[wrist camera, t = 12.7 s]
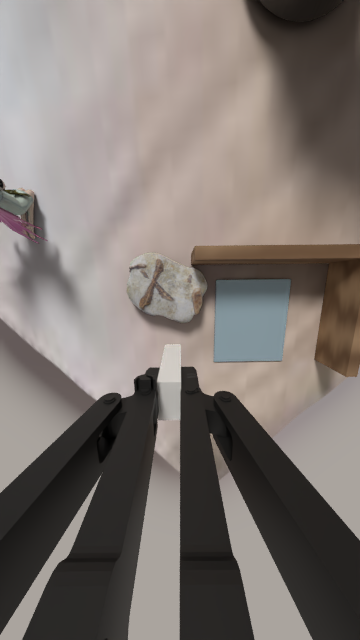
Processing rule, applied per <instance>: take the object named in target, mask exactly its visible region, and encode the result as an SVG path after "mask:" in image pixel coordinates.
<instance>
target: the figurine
mask: <svg viewBox="0 0 360 640" xmlns="http://www.w3.org/2000/svg"><path fill="white" fill-rule="evenodd" d="M5 187H6V186H5V184H4V182H3V181H2V180H1V179H0V222H1V221H2V222H3V223H4V224H5V225H6V226H8V227H9V228H10V229H12V230H13V231H15V232H17V233H19V234H21V235H23V236H25V237H27V238H29V236H28V233H27V232H29V235H30V237H31V238H33V239H35V236H37V237H39V236H38V235H36V234H34V227H36V228H38V229H41V230H42V228H40V227H37V226H34V225H33V209H34V192H33V191H32V190H27V191H25V190H24V189H23V188H19V189H13V190H5ZM26 211H27V213H28V219H29V222H26ZM16 215H21V219H20V217H19V218H18V216H16ZM20 221H21V222H22V223H21V222H20ZM26 224H28V226H27V225H26ZM26 226H27V227H26ZM31 238H29V239H30V240H32V241H34V240H33V239H31ZM39 238H41V237H39ZM42 239H43V238H42ZM44 240H45V239H44ZM46 241H47V240H46ZM34 242H36V241H34ZM36 243H38V242H36Z"/></svg>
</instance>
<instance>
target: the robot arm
mask: <svg viewBox="0 0 360 640" xmlns="http://www.w3.org/2000/svg"><path fill="white" fill-rule="evenodd" d="M259 1H260V2H261V3H262V4H263V5H264V6H265V7H266V8H267V9H268V10H269V11H270V12H272V13H273V14H275V15H276V16H278V17H280V18H283V19H286V20H289V21H297V22H301V21H309V20H313V19H316V18H319V17H321V16H323V15H325V14H327V13H328V12H330V11H331V10H333V9H334V8H335V7H337V6H338V5H339V4H340V3H341V2H342V1H343V0H259ZM134 386H135V393H134V395H132V396H130V397H126V398H121V395H120V394H118V393H109V394H106V395H104V396H102V397H101V398H100V399H99V400H97V401H96V402H95V403H94V404H93V405H92V406H91V407H90V408H89V409H88V410H87V411H86V412H85V413H84V414H83V415H82V416H81V417H80V418H79V419H78V420H77V421H76V422H74V423H73V424H72V425H71V426H70V427H69V428H68V429H67V430H66V431H65V432H64V433H63V434H62V435H61V436H60V437H59V438H58V439H57V440H56V441H55V442H54V443H52V444H51V445H50V446H49V447H48V448H47V449H46V450H45V451H44V452H43V453H42V454H41V455H40V456H39V457H38V458H37V459H36V460H35V461H34V462H33V463H31V465H29V466H28V467H27V468H26V469H25V470H24V471H23V472H22V473H21V474H20V475H19V476H18V477H17V478H16V479H15V480H14V481H13V482H12V483H11V484H9V486H7V487H6V488H5V489H4V490H3V491H2V492H1V493H0V634H1V633H2V631H3V629H4V628H5V626H6V625H7V623H8V621H9V620H10V618H11V617H12V615H13V614H14V612H15V610H16V609H17V607H18V606H19V604H20V602H21V601H22V599H23V598H24V596H25V595H26V593H27V591H28V590H29V588H30V587H31V585H32V583H33V582H34V580H35V578H36V577H37V575H38V574H39V572H40V571H41V569H42V567H43V566H44V564H45V563H46V561H47V560H48V558H49V556H50V555H51V553H52V552H53V550H54V548H55V547H56V545H57V544H58V542H59V541H60V539H61V537H62V536H63V534H64V533H65V531H66V529H67V528H68V526H69V525H70V523H71V521H72V520H73V518H74V517H75V515H76V514H77V512H78V510H79V509H80V507H81V506H82V504H83V502H84V501H85V499H86V497H87V496H88V494H89V493H90V491H91V490H92V488H93V487H94V485H95V483H96V482H97V480H98V478H99V477H100V475H101V474H102V475H101V478H100V480H99V482H98V485H97V487H96V490H95V492H94V495H93V497H92V500H91V503H90V505H89V507H88V510H87V512H86V515H85V517H84V520H83V522H82V525H81V527H80V530H79V533H78V535H77V537H76V540H75V542H74V545H73V547H72V549H71V552H70V554H69V555H68V557H67V558H66V559H64V560H63V561H61V562H60V563H59V564H58V565H57V567H56V568H55V570H54V571H53V573H52V575H51V577H50V579H49V581H48V583H47V585H46V587H45V589H44V591H43V594H42V596H41V598H40V601H39V603H38V605H37V607H36V610H35V612H34V614H33V617H32V619H31V621H30V623H29V626H28V628H27V630H26V633H25V635H24V637H23V640H128V624H129V615H130V608H131V601H132V595H133V588H134V581H135V575H136V568H137V561H138V555H139V548H140V541H141V535H142V527H143V521H144V515H145V507H146V501H147V495H148V488H149V480H150V474H151V468H152V461H153V454H154V448H155V441H156V434H157V428H158V424H157V419H158V420H180V640H254V635H253V630H252V626H251V621H250V616H249V611H248V607H247V602H246V597H245V592H244V587H243V582H242V578H241V573H240V569H239V566H238V563H237V561H236V559H235V558H234V556H233V553H232V549H231V544H230V539H229V534H228V528H227V523H226V518H225V513H224V507H223V502H222V497H221V491H220V486H219V481H218V475H217V470H216V465H215V460H214V454H213V449H212V444H211V439H210V433H211V434H213V438H214V440H215V442H216V444H217V446H218V448H219V450H220V452H221V454H222V456H223V458H224V460H225V462H226V464H227V466H228V468H229V470H230V472H231V474H232V476H233V478H234V480H235V482H236V484H237V486H238V488H239V491H240V492H241V494H242V496H243V499H244V501H245V503H246V505H247V507H248V509H249V511H250V513H251V515H252V517H253V519H254V521H255V523H256V525H257V527H258V529H259V531H260V533H261V535H262V537H263V539H264V541H265V543H266V545H267V547H268V549H269V552H270V553H271V556H272V558H273V560H274V562H275V564H276V566H277V568H278V570H279V572H280V574H281V576H282V578H283V580H284V582H285V584H286V586H287V588H288V590H289V592H290V594H291V596H292V598H293V600H294V602H295V604H296V606H297V608H298V610H299V612H300V615H301V617H302V619H303V621H304V623H305V625H306V627H307V629H308V631H309V633H310V635H311V637H312V639H313V640H360V540H359V539H358V538H357V537H356V536H355V535H354V533H353V532H352V531H351V530H350V529H349V528H348V526H347V525H346V524H345V523H344V522H343V521H342V519H340V517H339V516H338V515H337V514H336V513H335V511H334V510H333V509H332V508H331V507H330V505H329V504H328V503H327V502H326V501H325V500H324V498H323V497H322V496H321V495H320V494H319V493H318V492H317V490H316V489H315V488H314V487H313V486H312V485H311V483H310V482H309V481H308V480H307V479H306V478H305V476H304V475H303V474H302V473H301V472H300V471H299V469H298V468H297V467H296V466H295V465H294V464H293V462H292V461H291V460H290V459H289V458H288V457H287V455H286V454H285V453H284V452H283V451H282V450H281V449H280V447H279V446H278V445H277V444H276V443H275V442H274V440H273V439H272V438H271V437H270V436H269V435H268V433H267V432H266V431H265V430H264V429H263V428H262V426H261V425H260V424H259V423H258V422H257V421H256V419H255V418H254V417H253V416H252V415H251V414H250V412H249V411H248V410H247V409H246V408H245V407H244V406H243V404H242V403H241V402H240V401H239V400H238V399H237V397H236V396H235V395H233V394H232V393H230V392H227V391H219V392H216V393H215V394H214V396H209V395H206V394H204V393H203V392H202V391H201V389H200V388H199V383H198V377H197V372H196V369H195V368H194V367H181V344H165V348H164V352H163V357H162V361H161V365H160V368H149V369H148V370H147V371H146V373H145V374H144V375H140V376H138V377H136V378H135V379H134ZM102 472H103V473H102Z"/></svg>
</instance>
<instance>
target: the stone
mask: <svg viewBox="0 0 360 640" xmlns="http://www.w3.org/2000/svg"><path fill="white" fill-rule="evenodd" d="M129 269H130V271H129V272H130V277H129V280H128V283H127V294H128V296H129V299H130V300H131V301H132V303H133V304H134V305H135V306H136V307H138V308H139V309H140V310H141V311H143V312H144V313H146V314H149V315H152V316H154V315H160V316H163V317H166V318H168V319H171V320H175V321H177V322H179V323H185V322H189V321H191V319H192V317H193V315H194V314H199V312H200V308H201V306H202V304H203V295H204V294H205V292H206V290H207V282H206V279H205V277H204V276H203V274H202V273H201V272H200V271H199V270H197V269H195V268H193V267H189V268H188V267H186V266H183V265H182V264H180V263H177V262H175V261H173V260H171V259H169V258H167V257H165V256H163V255H161V254H159V253H153V252H151V253H146V254H143V255H140V256H138V257H136V258H135V259H134V260H133V261H132V262H131V263H130V267H129Z"/></svg>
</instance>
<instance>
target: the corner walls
mask: <svg viewBox="0 0 360 640" xmlns="http://www.w3.org/2000/svg"><path fill="white" fill-rule="evenodd" d="M307 263H329V267H328V273H327V280H326V286H325V293H324V300H323V306H322V313H321V320H320V326H319V333H318V339H317V346H316V353H315V360H317V361H318V362H320V363H322V364H324V365H326V366H328V367H329V368H331V369H333V370H335V371H337V372H338V373H340V374H342V375H344V376H346V377H353V376H355V377H356V376H357V374H358V369H359V364H360V244H343V245H247V246H195V247H194V249H193V251H192V254H191V265H219V264H307Z"/></svg>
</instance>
